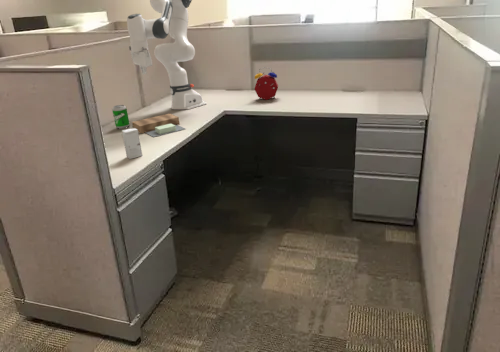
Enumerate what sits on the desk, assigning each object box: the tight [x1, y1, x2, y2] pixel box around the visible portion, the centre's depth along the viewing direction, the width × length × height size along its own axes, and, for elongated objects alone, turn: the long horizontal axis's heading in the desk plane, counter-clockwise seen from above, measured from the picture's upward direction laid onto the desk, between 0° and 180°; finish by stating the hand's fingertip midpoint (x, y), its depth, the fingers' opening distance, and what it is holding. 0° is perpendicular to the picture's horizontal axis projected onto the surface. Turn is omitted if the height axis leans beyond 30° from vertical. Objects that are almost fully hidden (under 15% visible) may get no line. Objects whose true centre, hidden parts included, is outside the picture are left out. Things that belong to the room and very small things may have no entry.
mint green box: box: [155, 124, 176, 134], centre depth 216 cm, size 9×6×2 cm, turn 124°
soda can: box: [111, 104, 131, 130], centre depth 229 cm, size 8×8×12 cm
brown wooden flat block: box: [131, 113, 181, 134], centre depth 226 cm, size 22×12×4 cm, turn 124°
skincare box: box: [121, 127, 143, 160], centre depth 182 cm, size 6×4×12 cm
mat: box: [144, 124, 186, 138], centre depth 218 cm, size 18×11×1 cm, turn 124°
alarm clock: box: [254, 66, 279, 101], centre depth 262 cm, size 15×9×20 cm, turn 84°
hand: (144, 73), depth 225 cm, fingers closed
